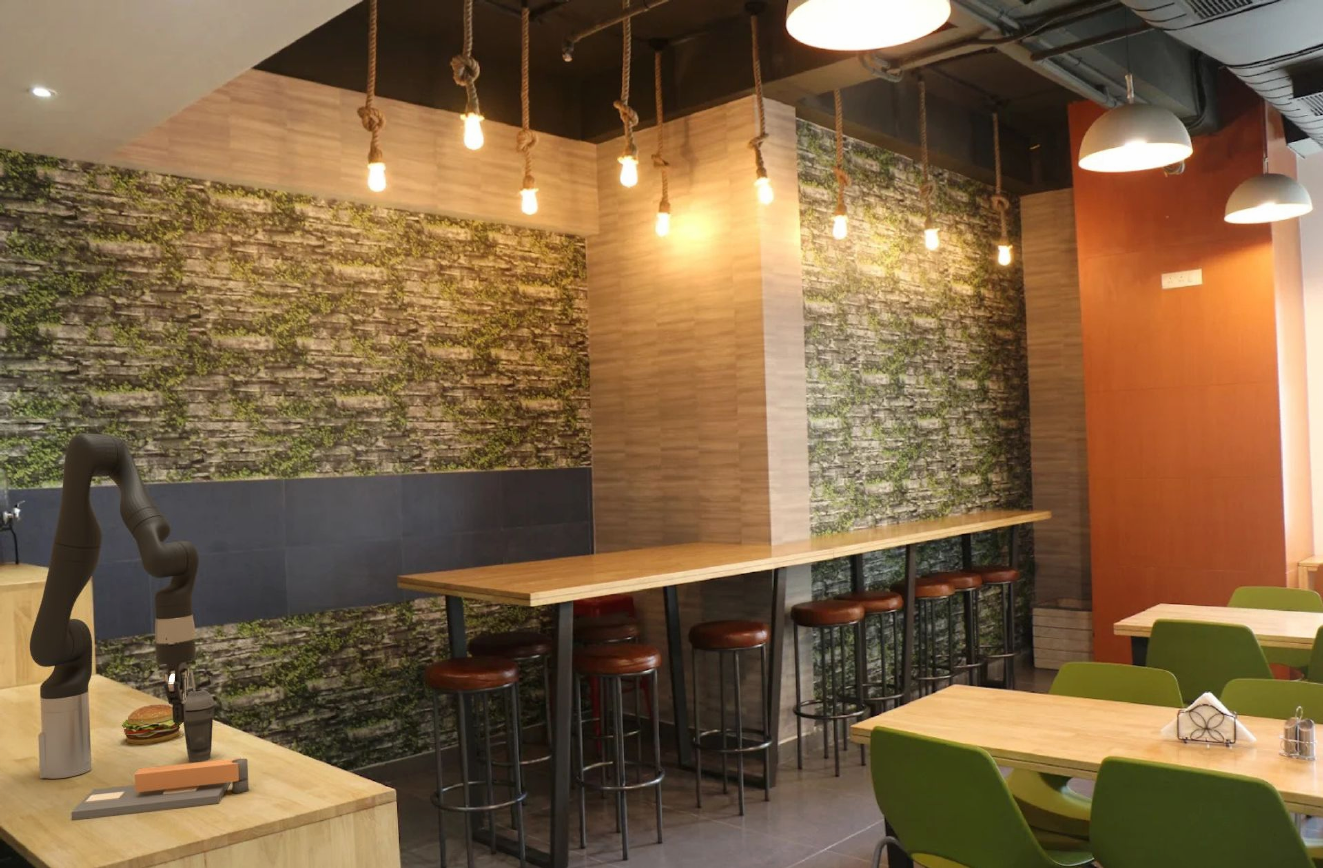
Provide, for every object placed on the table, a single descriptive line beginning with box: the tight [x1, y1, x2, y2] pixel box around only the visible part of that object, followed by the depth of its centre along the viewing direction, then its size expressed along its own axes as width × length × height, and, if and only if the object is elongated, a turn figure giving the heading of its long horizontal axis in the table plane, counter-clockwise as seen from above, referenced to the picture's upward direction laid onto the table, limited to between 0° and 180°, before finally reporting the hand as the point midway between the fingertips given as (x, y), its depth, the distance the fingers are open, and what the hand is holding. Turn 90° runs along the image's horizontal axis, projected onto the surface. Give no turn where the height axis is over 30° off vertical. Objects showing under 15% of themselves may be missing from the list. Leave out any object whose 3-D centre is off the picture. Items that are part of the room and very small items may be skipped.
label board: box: [70, 777, 250, 821], centre depth 209 cm, size 30×14×2 cm, turn 103°
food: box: [121, 704, 183, 745], centre depth 257 cm, size 14×14×8 cm
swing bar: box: [134, 757, 249, 792], centre depth 210 cm, size 20×4×4 cm, turn 103°
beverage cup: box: [182, 669, 216, 763], centre depth 237 cm, size 7×7×20 cm
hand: (179, 721), depth 218 cm, fingers closed
